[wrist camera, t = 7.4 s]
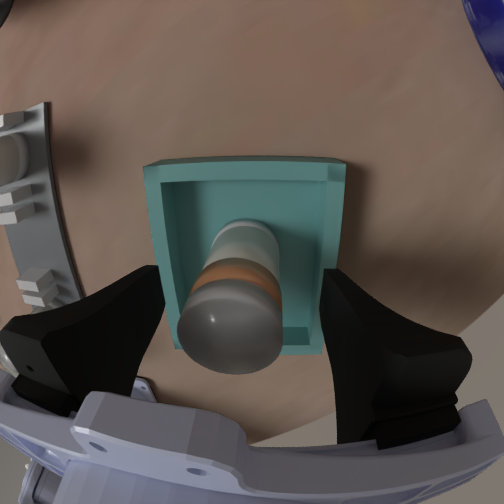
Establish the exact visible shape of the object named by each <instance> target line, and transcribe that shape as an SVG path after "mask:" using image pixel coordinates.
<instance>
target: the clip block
mask: <svg viewBox="0 0 504 504" xmlns="http://www.w3.org/2000/svg"><path fill="white" fill-rule="evenodd" d="M15 132H19V133H21V134H23V135H24V136H25V138H26V140H27V142H28V145H29V149H30V164H29V168H28V171H27V173H26V175H25V176H24V177H23V178H22V179H21V180H18V181H16V182H13V183H11V184H7V185H4V186H2V187H0V208H1V212H0V225H5V229H6V233H7V237H8V240H9V244H10V247H11V251H12V254H13V257H14V260H15V263H16V266H17V269H18V272H19V275H20V277H19V278H18V279H16V281H17V284H18V286H19V289H23V290H26V291H25V292H24V293H23V294H22V296H23V299H24V301H25V303H27V304H31V305H32V307H33V310H34V309H35V308H36V307H37V306H42V307H46V306H47V305H48V304H49V303H50V302H51V301H52V300H53V298H54V297H55V298H57V299H58V300H60V301H61V302H62V303H63V304H64V305H67V304H70V303H73V302H76V301H78V300H81V299H83V295H82V292H81V289H80V286H79V283H78V280H77V277H76V274H75V271H74V267H73V264H72V260H71V257H70V253H69V250H68V246H67V242H66V238H65V234H64V230H63V225H62V221H61V216H60V211H59V206H58V201H57V196H56V190H55V184H54V177H53V170H52V162H51V153H50V142H49V129H48V102H43V103H41V104H38V105H36V106H34V107H32V108H29V109H27V110H25V111H22V112H14V113H7V114H2V115H1V116H0V136H4V135H6V134H11V133H15Z"/></svg>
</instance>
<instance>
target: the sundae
mask: <svg viewBox="0 0 504 504" xmlns="http://www.w3.org/2000/svg"><path fill="white" fill-rule="evenodd" d="M12 2H13V0H0V27H1V25H2V24H3V22H4V21H5V19H6V17H7V15H8V13H9V11H10V8H11V6H12Z"/></svg>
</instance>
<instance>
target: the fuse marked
mask: <svg viewBox="0 0 504 504" xmlns="http://www.w3.org/2000/svg"><path fill="white" fill-rule="evenodd" d="M279 259H280V255H279V243H278V240H277V237H276V235H275V233H274V232H273V231H272V230H271V228H270V227H268V226H267V225H266V224H264V223H263V222H261V221H259V220H255V219H251V218H240V219H235V220H232V221H230V222H228V223H227V224H225V225H224V226H223V227H222V228H221V229H220V230H219V232H218V233H217V235H216V237H215V239H214V241H213V244H212V246H211V251H210V253H209V255H208V257H207V260H206V262H205V264H204V266H203V269H202V271H201V272H200V273H199V275H198V277H197V278H196V281H195V283H194V285H193V287H192V290H191V292H190V294H189V297H188V299H187V301H186V304H185V306H184V309H183V311H182V313H181V316H180V318H179V321H178V324H177V337H178V340H179V343H180V345H181V347H182V348H183V350H184V351H185V352H186V354H187V355H188V356H189V357H190V358H191V359H193V360H194V361H195V362H197V363H198V364H200V365H202V366H203V367H205V368H208V369H210V370H213V371H216V372H220V373H225V374H248V373H253V372H256V371H259V370H261V369H263V368H265V367H267V366H269V365H270V364H271V363H272V362H274V361H275V360H276V358H277V357H278V356H279V354H280V352H281V350H282V347H283V312H282V292H281V288H280V277H279Z"/></svg>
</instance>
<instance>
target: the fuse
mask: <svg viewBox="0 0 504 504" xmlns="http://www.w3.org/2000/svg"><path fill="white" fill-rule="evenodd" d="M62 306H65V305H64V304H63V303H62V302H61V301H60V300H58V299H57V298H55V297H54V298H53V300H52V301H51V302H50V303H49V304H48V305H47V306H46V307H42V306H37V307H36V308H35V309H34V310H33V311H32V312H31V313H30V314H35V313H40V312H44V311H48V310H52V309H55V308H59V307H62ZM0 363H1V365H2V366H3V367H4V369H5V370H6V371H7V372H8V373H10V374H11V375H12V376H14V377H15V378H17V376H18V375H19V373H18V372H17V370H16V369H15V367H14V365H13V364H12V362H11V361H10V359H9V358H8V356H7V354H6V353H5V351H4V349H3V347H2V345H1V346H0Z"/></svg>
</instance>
